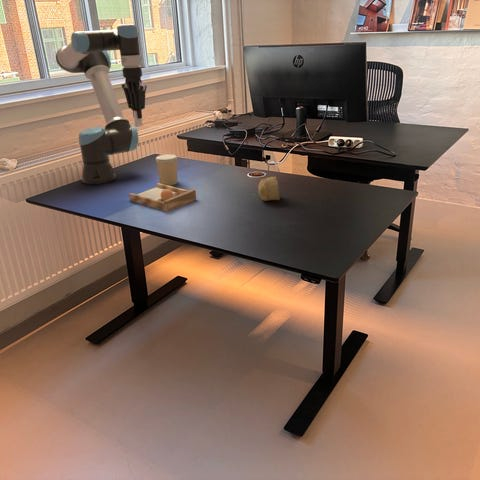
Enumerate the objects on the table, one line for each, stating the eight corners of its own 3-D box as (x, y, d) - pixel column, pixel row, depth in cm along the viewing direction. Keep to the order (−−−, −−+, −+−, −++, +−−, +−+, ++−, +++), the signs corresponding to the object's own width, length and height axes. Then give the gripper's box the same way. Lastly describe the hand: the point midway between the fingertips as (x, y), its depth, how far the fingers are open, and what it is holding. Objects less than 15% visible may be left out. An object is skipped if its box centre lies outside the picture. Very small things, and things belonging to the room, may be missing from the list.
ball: (168, 198, 184) (164, 205, 188) (177, 193, 188) (173, 201, 191) (160, 189, 185) (156, 196, 188) (169, 184, 188) (165, 192, 192)
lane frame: (129, 200, 192) (128, 191, 190) (158, 189, 203) (157, 180, 202) (167, 211, 180) (166, 201, 178) (196, 199, 191) (195, 189, 189)
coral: (288, 186, 180) (264, 177, 178) (277, 208, 185) (254, 200, 183) (286, 177, 188) (263, 168, 187) (276, 198, 193) (254, 190, 191)
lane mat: (131, 199, 193) (131, 196, 192) (157, 190, 203) (156, 187, 202) (166, 210, 181) (166, 206, 181) (191, 199, 191) (191, 195, 190)
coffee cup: (181, 179, 215) (178, 153, 210) (176, 186, 207) (174, 159, 202) (161, 179, 216) (158, 154, 211) (156, 186, 208) (153, 159, 203)
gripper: (113, 67, 189) (121, 126, 199) (135, 68, 181) (142, 129, 191) (128, 65, 194) (135, 122, 204) (149, 66, 187) (156, 126, 197)
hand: (138, 126), depth 198 cm, fingers closed
